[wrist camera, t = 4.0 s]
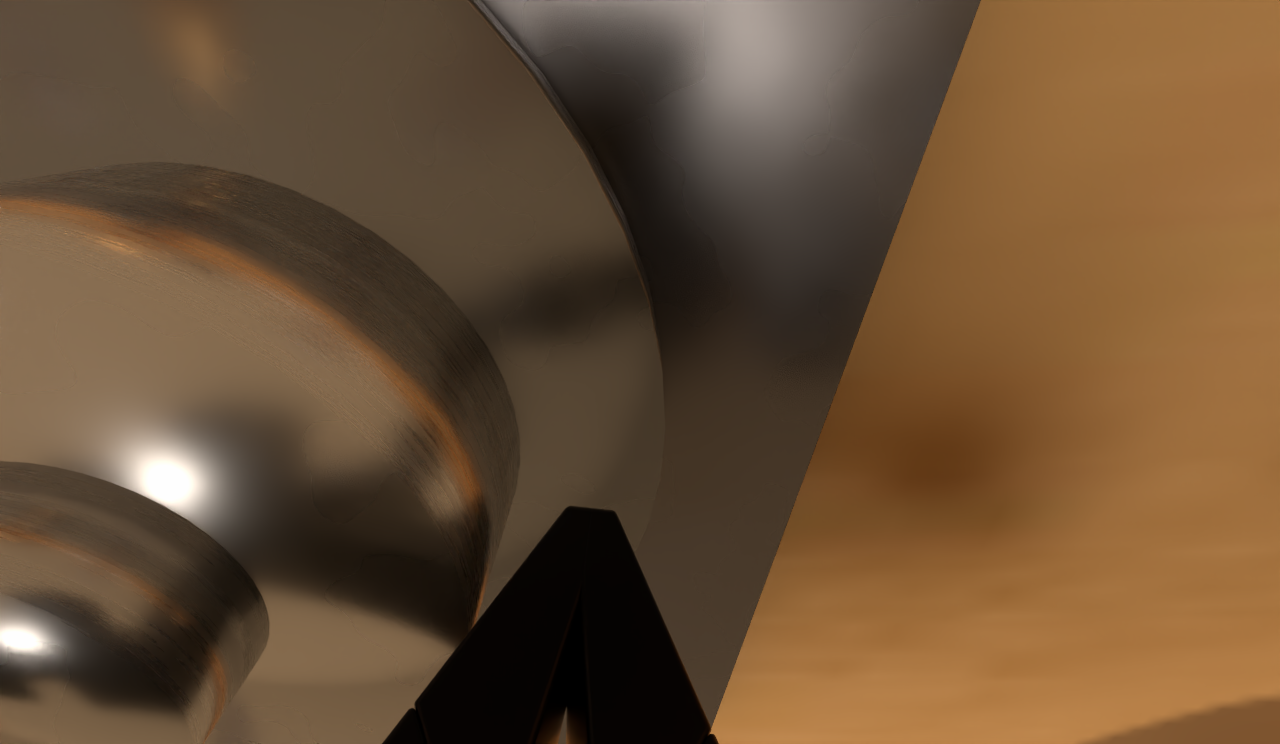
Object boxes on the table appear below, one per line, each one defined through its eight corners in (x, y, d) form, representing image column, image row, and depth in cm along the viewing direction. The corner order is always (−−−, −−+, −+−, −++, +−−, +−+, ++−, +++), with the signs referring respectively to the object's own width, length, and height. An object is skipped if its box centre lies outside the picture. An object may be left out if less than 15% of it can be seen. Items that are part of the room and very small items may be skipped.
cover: (532, 212, 7) (402, 373, 3) (513, 619, 11) (445, 908, 7) (-156, 113, 6) (-1295, 166, 3) (86, 579, 10) (-233, 868, 6)
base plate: (1080, -395, 6) (1158, -478, 5) (697, 720, 16) (700, 756, 16) (-1402, -966, 4) (-1907, -1224, 4) (-76, 656, 15) (-120, 692, 14)
